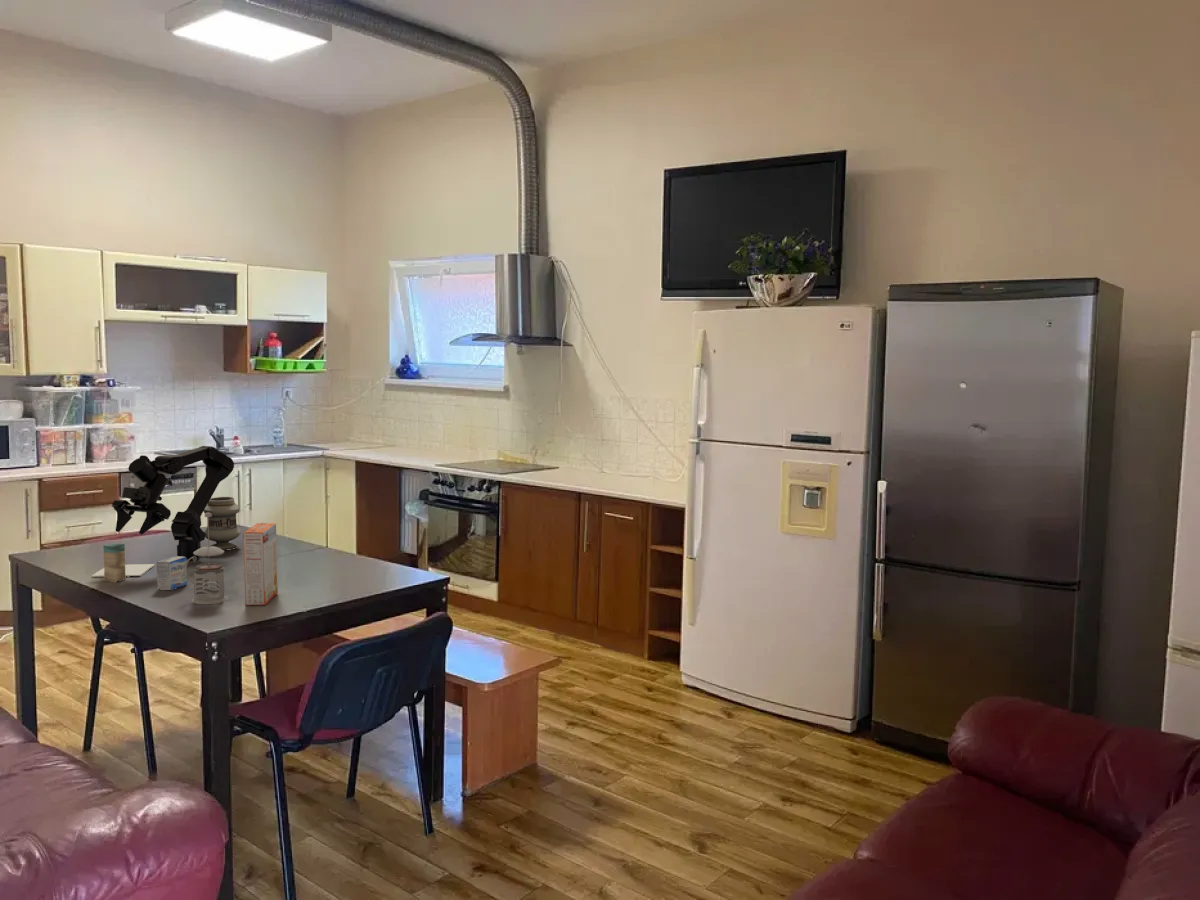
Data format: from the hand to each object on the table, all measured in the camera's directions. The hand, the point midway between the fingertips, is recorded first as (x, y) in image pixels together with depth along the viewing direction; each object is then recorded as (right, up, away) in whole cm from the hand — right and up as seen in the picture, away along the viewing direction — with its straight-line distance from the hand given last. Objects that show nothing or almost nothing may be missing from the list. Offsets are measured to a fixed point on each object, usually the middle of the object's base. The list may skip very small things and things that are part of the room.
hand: (128, 532), depth 291 cm
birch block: (-1, -14, -6) cm, 15 cm away
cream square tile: (-4, -13, +5) cm, 14 cm away
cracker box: (+50, -17, -24) cm, 58 cm away
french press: (+35, -17, -25) cm, 46 cm away
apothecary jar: (+12, -9, +42) cm, 45 cm away
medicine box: (+19, -15, -13) cm, 28 cm away
